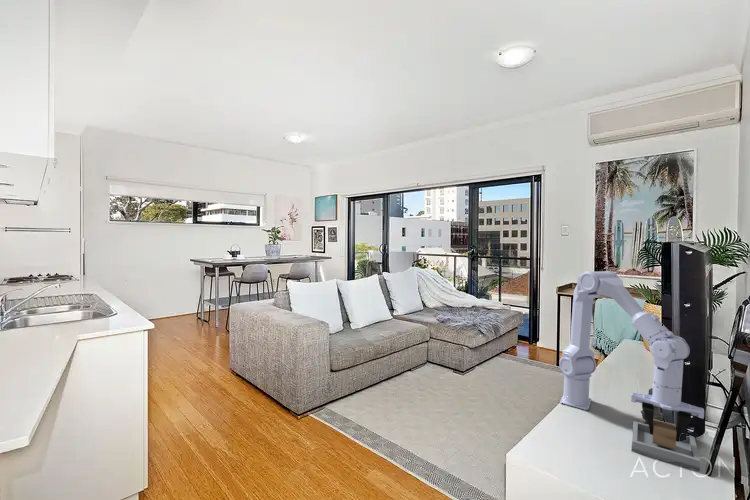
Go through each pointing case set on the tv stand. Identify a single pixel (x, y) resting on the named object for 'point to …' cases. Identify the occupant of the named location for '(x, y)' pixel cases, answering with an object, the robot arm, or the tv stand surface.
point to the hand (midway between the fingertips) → (663, 436)
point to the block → (664, 434)
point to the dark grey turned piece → (656, 411)
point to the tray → (665, 448)
